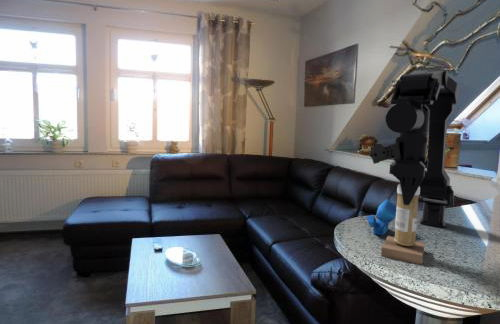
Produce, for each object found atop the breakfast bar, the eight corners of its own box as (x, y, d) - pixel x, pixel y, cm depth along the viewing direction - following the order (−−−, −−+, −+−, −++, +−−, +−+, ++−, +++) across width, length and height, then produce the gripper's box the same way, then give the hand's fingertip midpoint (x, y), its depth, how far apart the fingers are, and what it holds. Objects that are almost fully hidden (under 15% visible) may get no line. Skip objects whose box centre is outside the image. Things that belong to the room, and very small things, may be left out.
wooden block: (387, 243, 80) (387, 235, 80) (424, 250, 76) (424, 242, 76) (381, 256, 73) (381, 247, 73) (421, 264, 69) (422, 255, 68)
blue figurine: (363, 210, 85) (373, 192, 94) (362, 239, 88) (373, 219, 97) (393, 215, 81) (401, 196, 90) (392, 245, 84) (400, 224, 93)
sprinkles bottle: (420, 246, 73) (425, 187, 71) (400, 247, 72) (405, 187, 70) (407, 238, 77) (412, 182, 75) (389, 239, 77) (393, 183, 75)
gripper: (381, 130, 83) (376, 191, 85) (365, 132, 67) (361, 206, 69) (430, 132, 78) (425, 196, 80) (427, 133, 62) (420, 214, 64)
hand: (407, 202), depth 73 cm, fingers closed on sprinkles bottle, 4 cm apart
